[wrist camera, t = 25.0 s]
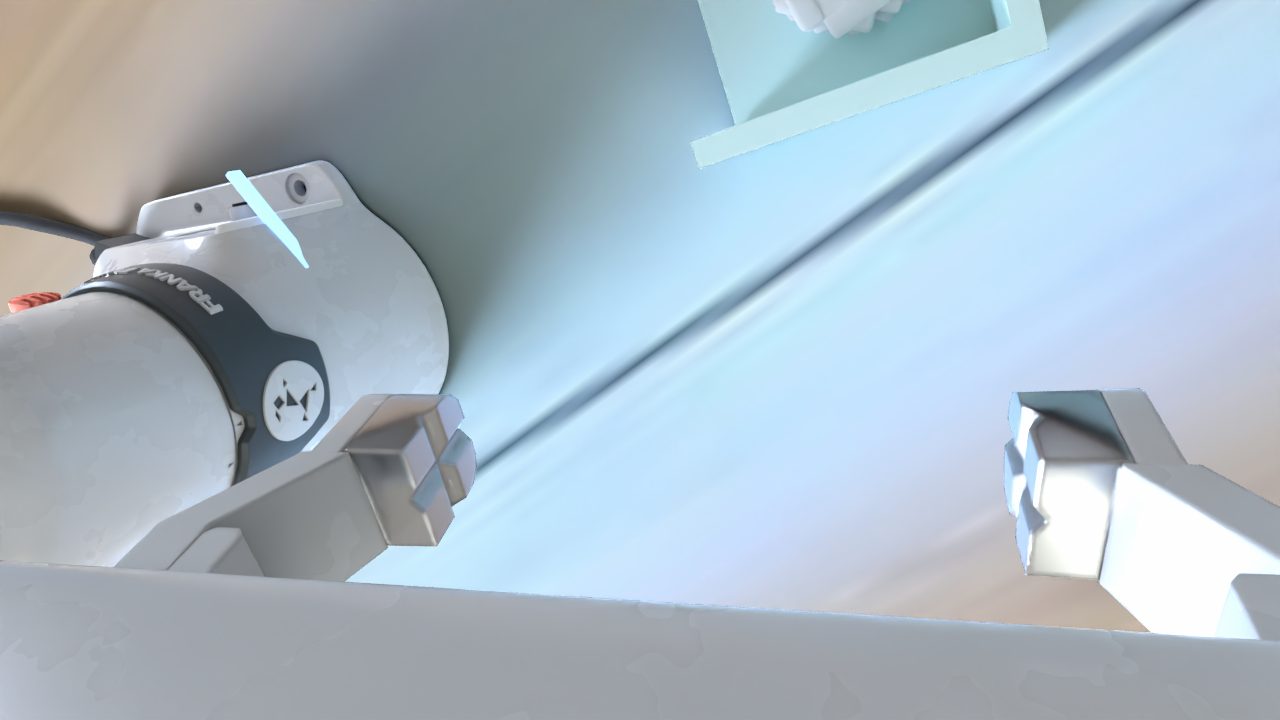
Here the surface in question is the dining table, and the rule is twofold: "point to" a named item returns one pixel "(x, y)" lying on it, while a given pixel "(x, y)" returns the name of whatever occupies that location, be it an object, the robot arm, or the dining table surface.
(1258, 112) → the dining table surface
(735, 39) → the pale cyan corner bracket
